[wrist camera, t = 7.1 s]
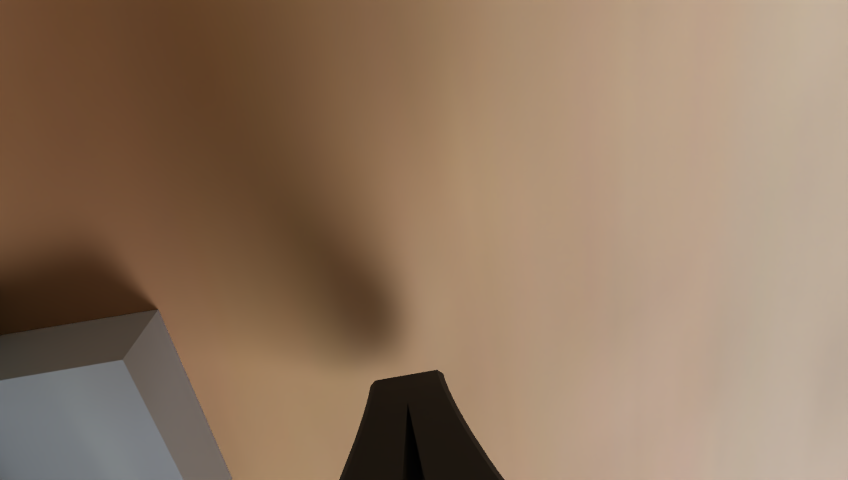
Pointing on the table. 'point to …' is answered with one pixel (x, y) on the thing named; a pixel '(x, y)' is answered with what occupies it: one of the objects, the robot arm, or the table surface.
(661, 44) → the table surface
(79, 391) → the gray block
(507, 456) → the table surface
